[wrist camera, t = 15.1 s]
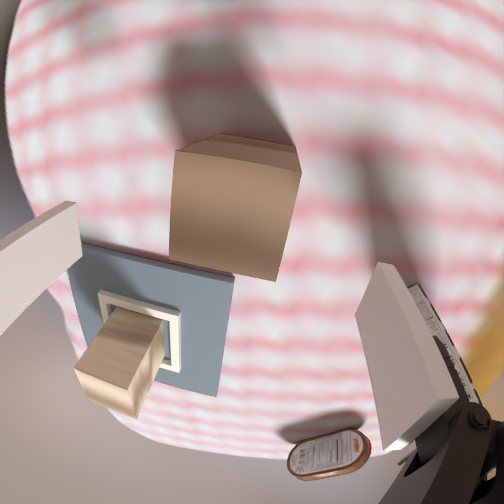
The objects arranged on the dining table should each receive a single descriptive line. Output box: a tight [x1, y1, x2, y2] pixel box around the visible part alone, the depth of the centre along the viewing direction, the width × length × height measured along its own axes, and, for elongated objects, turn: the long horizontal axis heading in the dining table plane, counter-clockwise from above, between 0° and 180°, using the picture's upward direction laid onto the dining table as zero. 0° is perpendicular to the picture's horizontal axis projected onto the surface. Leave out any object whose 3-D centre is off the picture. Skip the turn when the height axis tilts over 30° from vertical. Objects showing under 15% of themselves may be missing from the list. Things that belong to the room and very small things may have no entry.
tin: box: [287, 429, 371, 481], centre depth 38 cm, size 15×3×8 cm, turn 125°
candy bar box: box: [407, 283, 482, 405], centre depth 21 cm, size 11×5×16 cm, turn 31°
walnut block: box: [169, 134, 302, 282], centre depth 18 cm, size 6×6×10 cm
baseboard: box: [67, 243, 235, 397], centre depth 32 cm, size 20×20×1 cm
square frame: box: [98, 290, 181, 373], centre depth 31 cm, size 10×10×1 cm
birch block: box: [74, 307, 165, 419], centre depth 27 cm, size 6×6×10 cm
